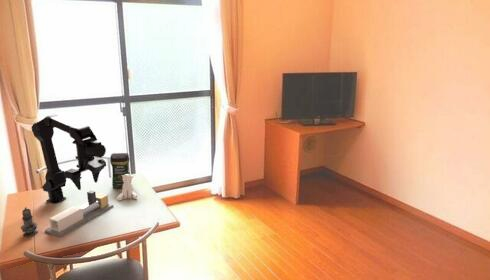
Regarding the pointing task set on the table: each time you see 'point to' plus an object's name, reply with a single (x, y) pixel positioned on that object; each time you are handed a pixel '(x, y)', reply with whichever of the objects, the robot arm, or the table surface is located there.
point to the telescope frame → (75, 217)
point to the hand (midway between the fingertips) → (87, 186)
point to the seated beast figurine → (127, 188)
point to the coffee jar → (119, 168)
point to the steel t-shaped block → (90, 203)
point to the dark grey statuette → (28, 224)
